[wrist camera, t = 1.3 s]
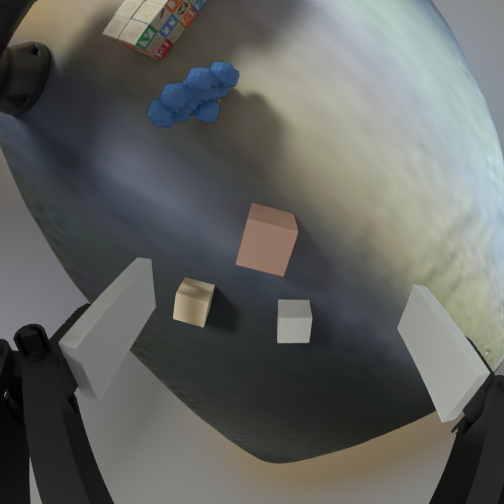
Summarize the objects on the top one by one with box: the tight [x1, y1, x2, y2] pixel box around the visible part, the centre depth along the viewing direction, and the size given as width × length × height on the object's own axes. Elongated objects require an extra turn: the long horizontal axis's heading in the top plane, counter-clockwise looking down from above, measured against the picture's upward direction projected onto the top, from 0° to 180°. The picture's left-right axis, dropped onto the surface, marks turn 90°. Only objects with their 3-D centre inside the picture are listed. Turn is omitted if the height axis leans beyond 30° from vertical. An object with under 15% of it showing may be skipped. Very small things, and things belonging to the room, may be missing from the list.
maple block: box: [173, 277, 215, 327], centre depth 43 cm, size 5×5×5 cm
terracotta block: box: [236, 203, 298, 277], centre depth 37 cm, size 6×6×8 cm
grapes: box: [147, 62, 239, 127], centre depth 28 cm, size 12×7×12 cm, turn 124°
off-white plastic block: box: [277, 300, 312, 343], centre depth 43 cm, size 5×5×5 cm
